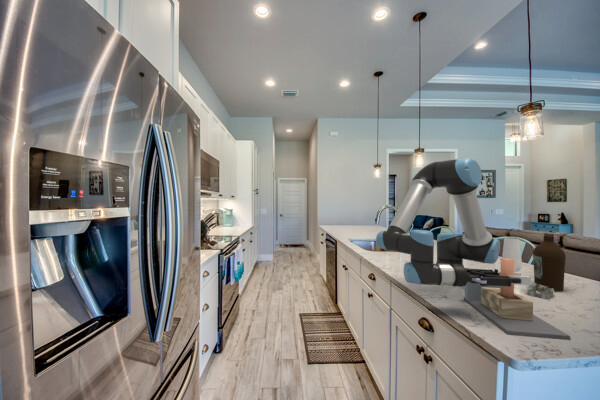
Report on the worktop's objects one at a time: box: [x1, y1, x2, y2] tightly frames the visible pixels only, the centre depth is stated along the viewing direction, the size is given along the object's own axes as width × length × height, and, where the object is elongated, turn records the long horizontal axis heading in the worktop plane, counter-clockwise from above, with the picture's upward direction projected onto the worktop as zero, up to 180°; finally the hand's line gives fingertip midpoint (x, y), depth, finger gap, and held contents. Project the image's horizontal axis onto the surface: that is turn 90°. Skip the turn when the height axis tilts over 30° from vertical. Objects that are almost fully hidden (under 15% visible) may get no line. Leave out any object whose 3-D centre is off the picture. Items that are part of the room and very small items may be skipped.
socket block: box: [481, 287, 534, 320], centre depth 86 cm, size 12×9×6 cm
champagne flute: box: [501, 237, 523, 273], centre depth 102 cm, size 7×7×24 cm
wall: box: [463, 282, 500, 301], centre depth 95 cm, size 2×16×8 cm, turn 81°
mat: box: [463, 297, 571, 340], centre depth 84 cm, size 26×16×1 cm, turn 171°
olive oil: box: [532, 232, 567, 292], centre depth 113 cm, size 11×11×25 cm
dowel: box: [499, 257, 515, 299], centre depth 84 cm, size 4×4×16 cm
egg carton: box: [525, 282, 555, 300], centre depth 104 cm, size 11×8×4 cm
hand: (524, 278), depth 84 cm, fingers closed on dowel, 3 cm apart
